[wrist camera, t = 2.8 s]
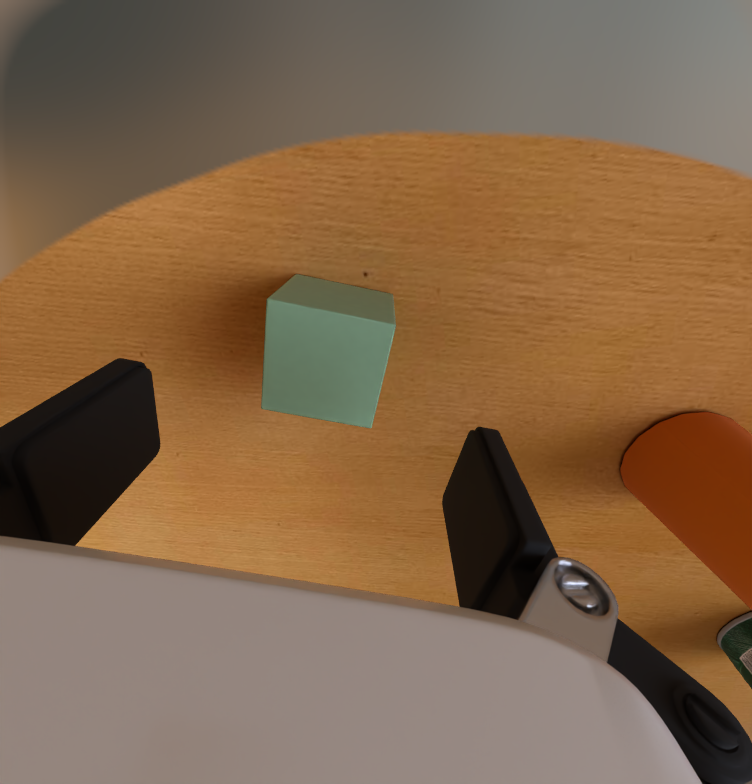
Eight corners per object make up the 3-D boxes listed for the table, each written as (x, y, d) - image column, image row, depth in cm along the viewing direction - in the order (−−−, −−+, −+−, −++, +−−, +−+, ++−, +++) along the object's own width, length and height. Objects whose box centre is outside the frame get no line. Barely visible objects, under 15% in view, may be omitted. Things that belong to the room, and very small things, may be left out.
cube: (287, 363, 20) (260, 409, 16) (295, 273, 18) (266, 298, 13) (374, 379, 20) (371, 429, 16) (393, 293, 18) (396, 324, 14)
